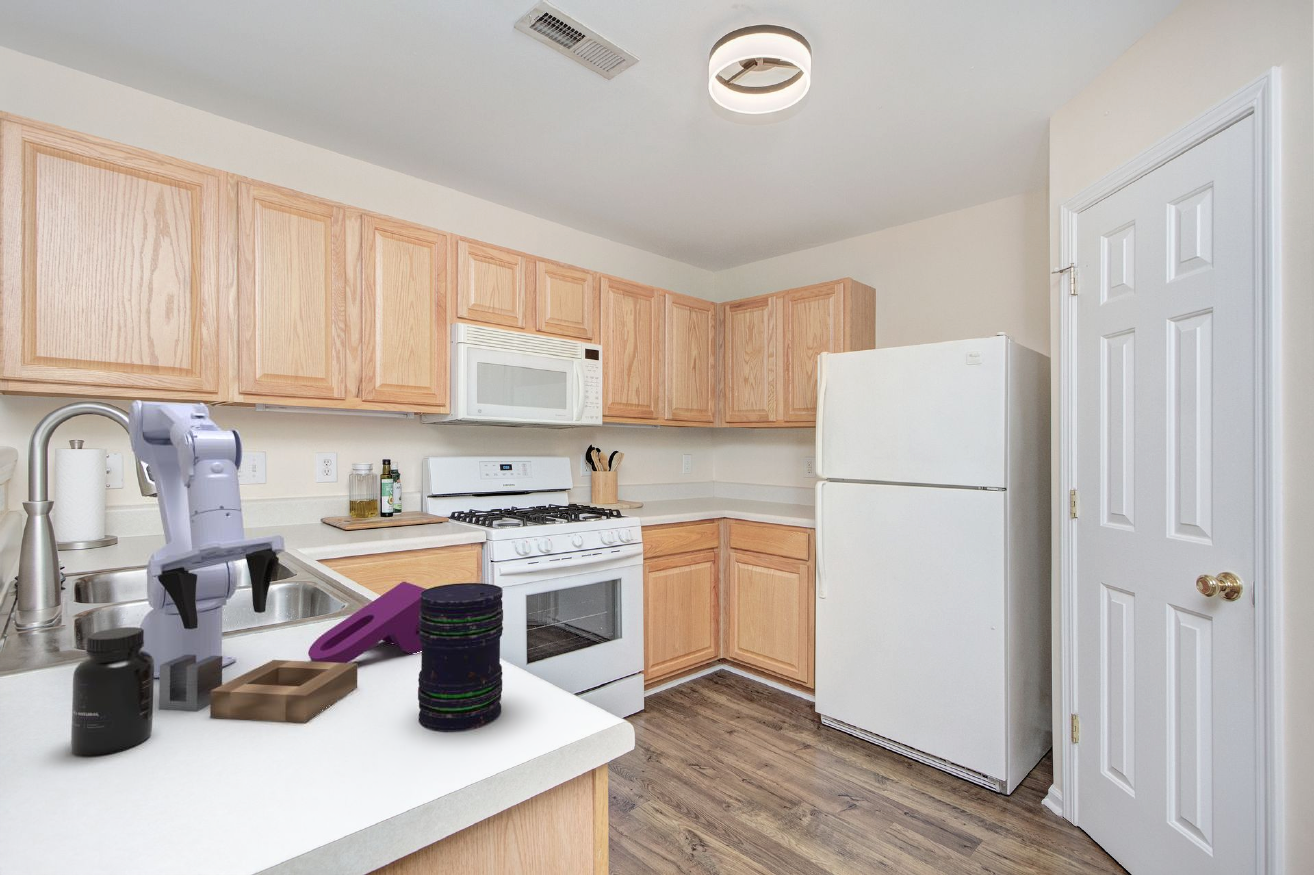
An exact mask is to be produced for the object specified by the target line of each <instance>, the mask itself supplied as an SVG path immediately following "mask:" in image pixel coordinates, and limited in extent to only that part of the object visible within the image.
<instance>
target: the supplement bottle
mask: <svg viewBox="0 0 1314 875" xmlns="http://www.w3.org/2000/svg"><path fill="white" fill-rule="evenodd" d="M142 647H144V630H143V629H141V628H140V627H135V626H133V627H131V626H125V627H116V628H109V629H104V630H100V631H96V632H92V633H91V634H89V635H88V636H87V638H86V649H85V655H86V656H88V658H86V659H84V660H83V661H82V662H80V663H79V664H78V665H77V666H76V667H75V669H74V671H73V676H72V699H71V700H72V701H71V703H72V705H71V732H70V733H71V734H70V735H71V736H70V738H71V739H70V741H71V744H70V745H71V750H72V751H73V752H74V753H75V754H78V755H79V756H89V757H90V756H91V757H93V756H104V755H109V754H113V753H119V752H122V751H125V750H128V749H131V748H133V747H136V746H137V745H140V744H141V743H143V742H145V740H147V739H148V738H149V736H150V735H151V733H152V732H153V718H154V717H153V716H154V714H153V713H154V712H153V711H154V686H155V685H154V684H155V682H154V680H155V677H154V659H153V657H152V656H151V655H150V654H149V653H147V652H145V651H142V650H141V648H142Z"/></svg>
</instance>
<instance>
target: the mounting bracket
mask: <svg viewBox="0 0 1314 875" xmlns="http://www.w3.org/2000/svg"><path fill="white" fill-rule="evenodd" d="M426 589H427V588H424V587H422V586H419V585H417V584H414V583H409V582H407V581H402V582H400V583H399V584H397V585H396V586H393V588H391V589H390V590H388V591H386V592H385V593H384V594H382V595H381V596H379V597H377V598H376V599H374V600H373V601H371V602H369V603H368V604H367V605H365V606H364V607H362V608H361V609H359V610H358V611H356V612H354V613H353V614H351V615H350V616H348V617H347V618H345V619H344V620H342V621H340V622H339V623H338V624H336V625H335V626H334V627H333V626H332V627H331V628H330V629H328V630H327V631H326V632H324V633H323V634H321V635H320V636H319V637H318V638H316V640H314V642H313V643H312V644H311V645H310V647H309V649H308V651H307V652H308V653H307V654H308V657H309V659H310V660H311V662H333V663H351V661H353V660H355V659H356V658H358V657H359V656H361V655H363V653H365V652H367V651H368V650H370V649H371V648H372V647H374V646H375V645H377V644H378V643H379V642H381V641H383V642H384V643H386V644H389V645H391V644H390V643H394V644H393V645H395V647H396V648H398V649H399V650H401V651H403V652H406V653H407V654H411V653H417V652H420V651H422V643H421V642H420V637H419V632H420V626H419V615H420V606H421V602H420V594H421V592H422V591H424V590H426ZM417 654H418V653H417ZM411 655H412V654H411Z"/></svg>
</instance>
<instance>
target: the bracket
mask: <svg viewBox="0 0 1314 875" xmlns="http://www.w3.org/2000/svg"><path fill="white" fill-rule="evenodd" d="M222 657H223V655H222V656H210V657H208V658H205V659H203V660H201V661H198V662H196V655H188V654H186V655H184V656H181V657H179V658H176V659H174V660H171V661H169V662H166V663H164V664H161V665H160V672H159V679H158V681H159V682H158V684H159V685H158V686H159V688H158V692H159V693H158V701H159V702H158V710H161V711H175V712H176V711H179V712H196V713H197V712H199V711H201V710H203V709H205V708H206V707H208V706H209V707H210V700H211V690H213V689H215V688H217V687H219V686H221V685H223V667H222Z"/></svg>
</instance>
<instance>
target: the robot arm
mask: <svg viewBox="0 0 1314 875" xmlns="http://www.w3.org/2000/svg"><path fill="white" fill-rule="evenodd" d="M210 417H211V416H210V412H209V408H208V406H206V404H205V403H203V402H197V403H188V402H187V403H185V402H183V403H182V402H166V401H165V402H161V401H141V400H140V399H135V400H134V401H133V402H132V403H131V404H130V405H129V411H128V433H129V435H128V436H129V439H130V445H131V446H130V447H131V451H132V452H133V455H134V458H135V459H136V460H138V461H140V462H142V463H145V464H146V465H148V468H149V470H150V472H151V476H152V478H153V482H154V486H155V492H156V497H157V502H158V507H159V513H160V519H161V524H162V530H163V535H164V539H165V545H164V546H162V547H161V548H159V549H157V550H156V551H155V552H154V553H152V555H151V557H150V558H149V560H148V563H147V567H146V595H147V602H148V605H149V607H150V608H152V609H151V610H150V611H148V612H147V614H145V615H144V617H143V619H142V622H141V623H140V626H139V628H141V629H143V630H144V647H142V648H141V650H142V651H145V652H147V653H149V654H150V655H151V656H152V657H153V659H154V679H155V678H159V672H160V665H161V664H164V663H166V662H169V661H171V660H174V659H176V658H179V657H181V656H184V655H186V654H188V655H196V662H198V661H201V660H203V659H205V658H208V657H210V656H222V668H223V667H226V666H227V665H230V664H232V663H235V662H236V661H237V659H238V658H237V657H235V656H223V606H226V605H227V600H230V599H231V598H232V597H233V596H234V595H235V593H236V591H237V586H238V584H237V583H238V576H237V575H238V572H237V568H236V563H235V561H240V560H244V559H245V560H246V564H247V567H248V572H249V577H250V582H251V594H252V597H251V598H252V606H253V607H252V608H253V612H254V613H258V614H261V613H265V612H266V609H267V608H266V607H267V606H266V605H267V600H268V594H269V589H270V585H271V582H272V578H273V576H274V574H275V571H276V569H277V567H278V566H279V561H280V560H279V557H278V556H277V554H278V553H283V552H286V548H285V539H284V537H283V536H282V535H280V534H275V535H271V536H265V537H258V538H250V539H245V531H244V521H243V510H242V501H241V500H242V499H241V492H240V483H239V482H240V480H239V472H238V471H239V470H240V467H241V465H242V464H241V463H242V461H243V460H242V459H243V443H242V439H241V438H242V437H241V435H240V433H239V432H238V430H237V429H234V428H233V429H229V430H222V429H221V428H220V427H219V426H218V425H217V424H216V423H214V421H213V420H212V419H210Z"/></svg>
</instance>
